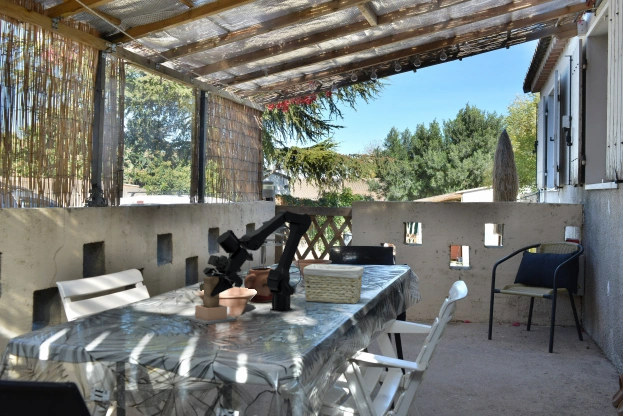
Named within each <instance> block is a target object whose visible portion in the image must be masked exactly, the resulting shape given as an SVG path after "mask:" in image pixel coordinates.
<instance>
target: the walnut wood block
mask: <svg viewBox="0 0 623 416" xmlns="http://www.w3.org/2000/svg"><path fill="white" fill-rule="evenodd" d="M218 282H219V277H214V276H211V277H207V276H204V277H203V283H204V297H203V298H202V299H203V300H202V301H203V304H202V305H203V307H206V308H214V307H219V305H220V294H218V295H216V296H214V297H212V296H211V293H212V291H213V290H214V288H215V287H216V285H217V284H218Z"/></svg>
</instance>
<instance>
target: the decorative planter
mask: <svg viewBox="0 0 623 416" xmlns="http://www.w3.org/2000/svg"><path fill="white" fill-rule="evenodd" d="M270 269H273V268H272V267H254V268H253V267H252V268H249V270H248V273H247V274H246V275H247V276H246V278H245V280H244V286H245V288H248V289H255V290H256V291H257V294H256V295H255V296H254V297H253V298H252V299H251V300H250V299H249V301H250V302H253V303H266V302H267V303H268V302H272V297H273V293H270V290H269V288H268V285H267V279H266V278H267V277H268V275H269V271H270Z"/></svg>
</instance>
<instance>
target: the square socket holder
mask: <svg viewBox="0 0 623 416" xmlns="http://www.w3.org/2000/svg"><path fill="white" fill-rule="evenodd" d="M194 310H195V315H188V316H187V315H186V316H185V320H187V319H188V321H190V320H191V321H190V322H193V323H197V322H198V323H197V324H200V323H201V324H200V325H203V324H204V326H206V324H208V325H213V324H220V323H221V324H222V323H227V322H228V323H229V322H235V321H238V318H237V317H233V316H230V315H228V306H227V305H223V304H219V307H214V308H206V307H203V304H200V305H199V304H197V305H195V309H194Z"/></svg>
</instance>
